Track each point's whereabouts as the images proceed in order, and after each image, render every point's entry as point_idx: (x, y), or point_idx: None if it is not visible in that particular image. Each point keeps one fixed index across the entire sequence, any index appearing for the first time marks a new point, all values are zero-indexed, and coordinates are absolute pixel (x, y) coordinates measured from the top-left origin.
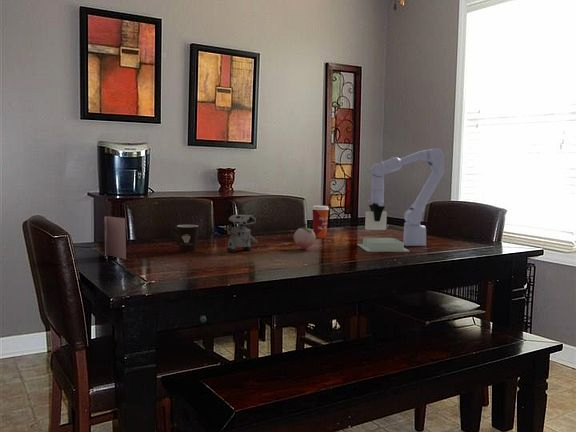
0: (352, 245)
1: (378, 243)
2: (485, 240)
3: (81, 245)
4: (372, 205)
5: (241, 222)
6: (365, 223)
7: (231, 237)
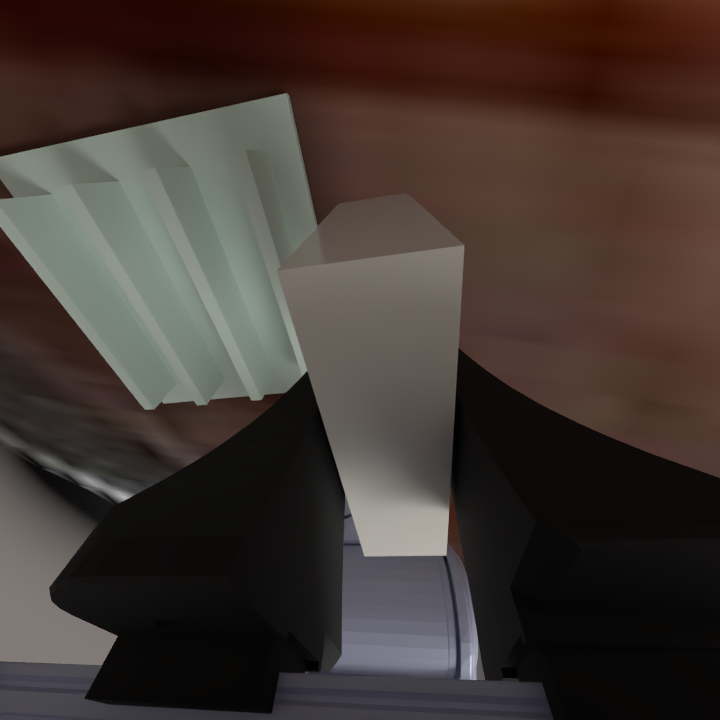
0: (254, 24)
1: (37, 264)
2: None
3: None
4: (123, 589)
5: None
6: (401, 202)
7: None
